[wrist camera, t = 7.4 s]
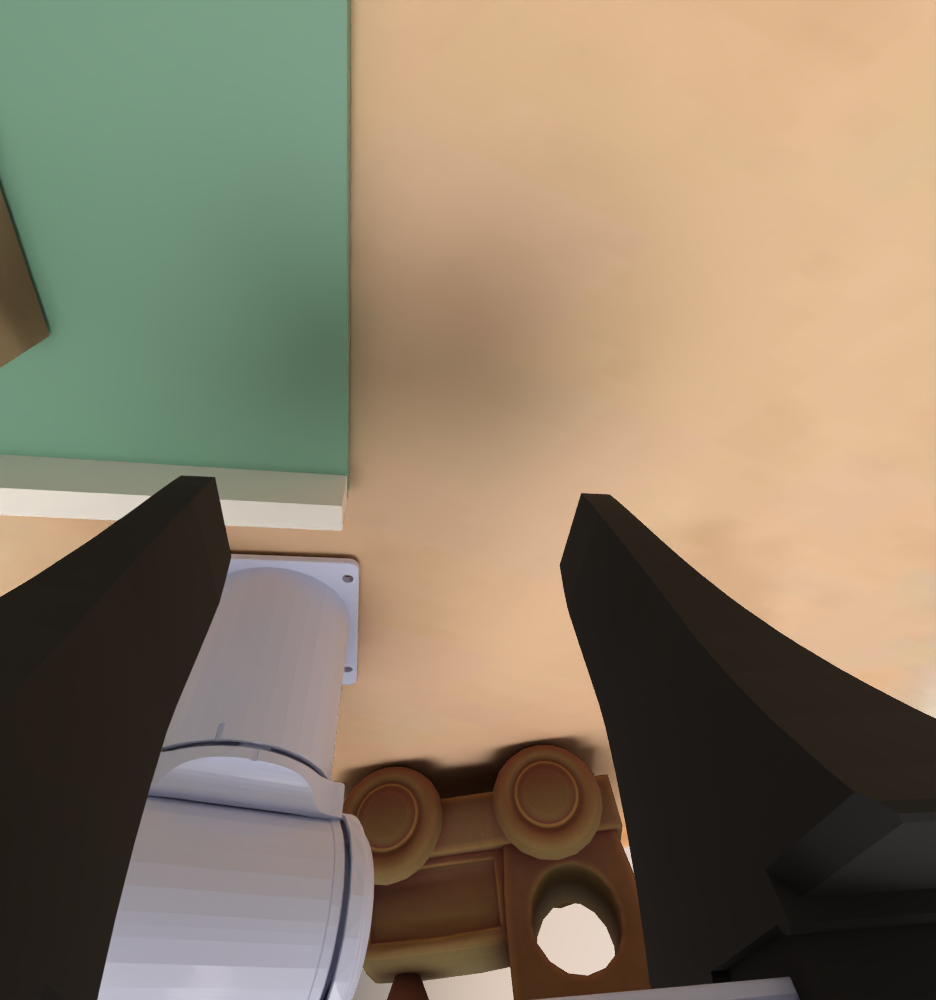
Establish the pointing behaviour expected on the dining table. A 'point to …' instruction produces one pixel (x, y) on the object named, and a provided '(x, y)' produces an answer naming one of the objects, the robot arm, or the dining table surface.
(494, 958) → the wooden toy train
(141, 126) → the pitch
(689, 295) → the dining table surface
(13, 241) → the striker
